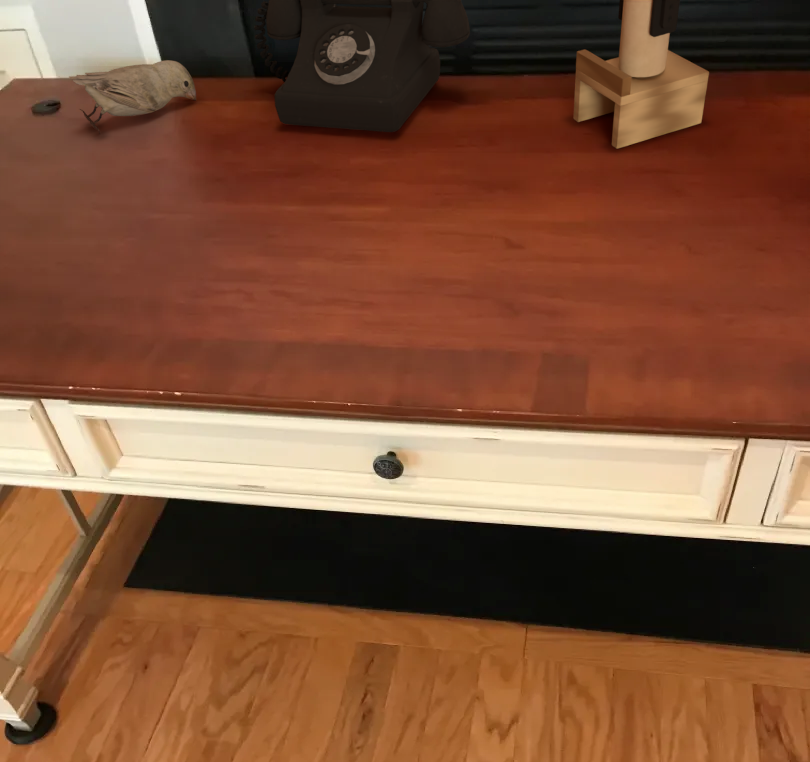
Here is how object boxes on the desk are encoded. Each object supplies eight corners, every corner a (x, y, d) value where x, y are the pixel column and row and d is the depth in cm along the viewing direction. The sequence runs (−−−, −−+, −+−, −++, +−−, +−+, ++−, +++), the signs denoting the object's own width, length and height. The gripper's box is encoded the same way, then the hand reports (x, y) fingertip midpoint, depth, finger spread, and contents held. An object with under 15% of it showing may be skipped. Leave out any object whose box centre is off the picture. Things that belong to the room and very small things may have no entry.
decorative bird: (204, 106, 126) (189, 50, 121) (94, 140, 122) (74, 83, 117) (191, 94, 130) (176, 38, 124) (83, 127, 125) (63, 71, 120)
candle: (655, 80, 104) (666, -16, 97) (610, 74, 107) (617, -21, 99) (672, 62, 107) (684, -33, 100) (628, 57, 110) (637, -37, 102)
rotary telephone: (481, 85, 123) (478, -40, 112) (440, 143, 112) (432, 11, 101) (283, 74, 132) (262, -43, 121) (228, 126, 121) (199, 3, 110)
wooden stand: (654, 95, 116) (661, 27, 110) (701, 123, 110) (712, 53, 104) (573, 118, 114) (576, 51, 108) (616, 149, 107) (622, 79, 101)
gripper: (752, -165, 85) (720, 40, 99) (649, -190, 96) (632, -3, 110) (686, -150, 84) (662, 56, 97) (588, -177, 95) (579, 12, 108)
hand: (646, 23), depth 103 cm, fingers closed on candle, 5 cm apart
